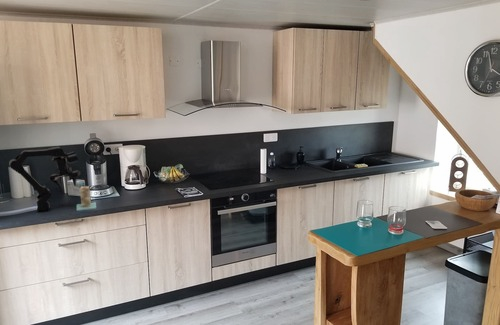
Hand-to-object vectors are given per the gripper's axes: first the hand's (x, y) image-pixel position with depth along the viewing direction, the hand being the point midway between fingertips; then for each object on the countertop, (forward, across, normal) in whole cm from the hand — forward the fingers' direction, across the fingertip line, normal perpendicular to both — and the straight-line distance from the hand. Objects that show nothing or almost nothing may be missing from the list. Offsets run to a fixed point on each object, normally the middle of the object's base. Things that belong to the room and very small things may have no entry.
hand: (68, 187), depth 259 cm
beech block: (+13, -10, +5) cm, 18 cm away
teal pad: (+14, -10, +5) cm, 18 cm away
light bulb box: (+15, +6, -25) cm, 30 cm away
